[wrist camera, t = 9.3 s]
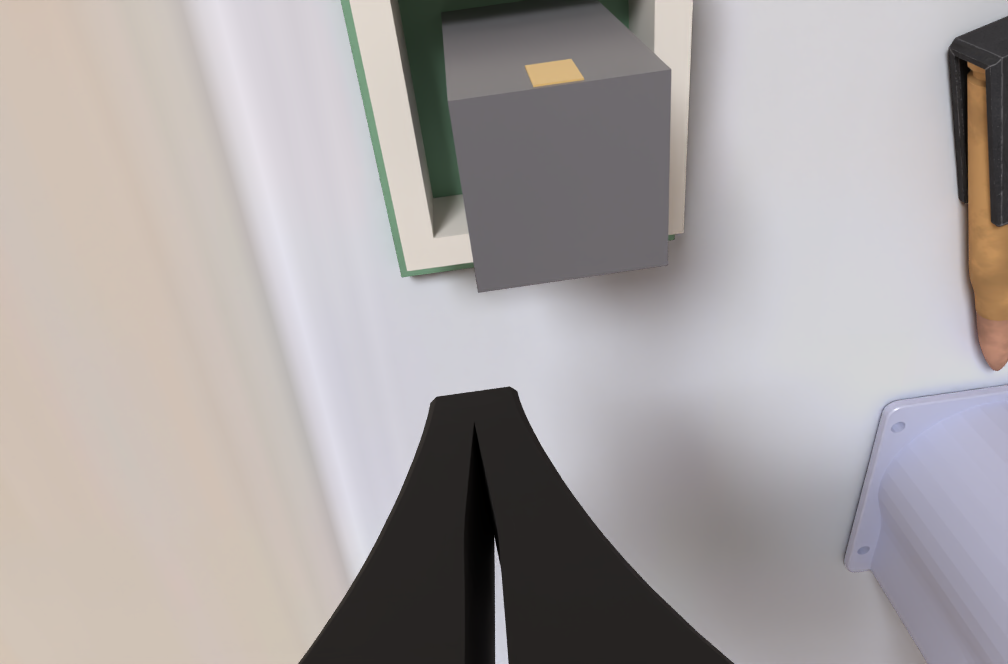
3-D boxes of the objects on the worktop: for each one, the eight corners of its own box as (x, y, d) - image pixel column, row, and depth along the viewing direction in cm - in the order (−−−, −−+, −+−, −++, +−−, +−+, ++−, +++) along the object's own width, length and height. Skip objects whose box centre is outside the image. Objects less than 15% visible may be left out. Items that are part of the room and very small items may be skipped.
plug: (594, 137, 19) (667, 266, 13) (462, 155, 19) (478, 294, 13) (588, -11, 17) (671, 66, 11) (440, 10, 17) (447, 99, 11)
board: (668, 230, 21) (700, 281, 19) (402, 267, 21) (398, 323, 19) (679, -180, 16) (726, -185, 13) (315, -133, 15) (293, -128, 13)
